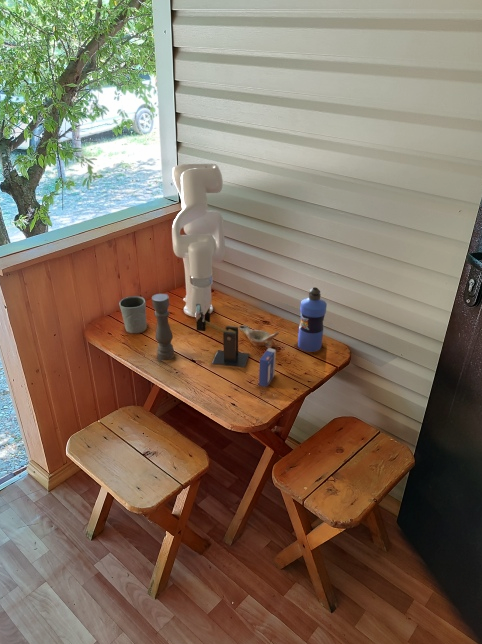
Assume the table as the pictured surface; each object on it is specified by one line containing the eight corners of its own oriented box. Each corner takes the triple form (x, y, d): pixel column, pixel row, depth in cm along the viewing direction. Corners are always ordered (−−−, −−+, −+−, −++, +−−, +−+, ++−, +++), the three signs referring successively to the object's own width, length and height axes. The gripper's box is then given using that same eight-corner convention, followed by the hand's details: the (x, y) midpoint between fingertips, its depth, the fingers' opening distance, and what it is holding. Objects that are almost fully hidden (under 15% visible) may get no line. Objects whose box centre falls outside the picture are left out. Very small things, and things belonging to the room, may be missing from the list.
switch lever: (197, 326, 166) (199, 321, 165) (201, 319, 171) (203, 314, 169) (231, 342, 167) (234, 337, 166) (234, 334, 171) (237, 329, 170)
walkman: (266, 389, 161) (267, 360, 154) (258, 387, 162) (259, 358, 155) (274, 377, 167) (276, 348, 160) (267, 375, 168) (268, 346, 161)
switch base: (212, 366, 172) (211, 334, 165) (218, 352, 180) (217, 321, 172) (244, 369, 170) (245, 338, 163) (249, 356, 178) (249, 325, 170)
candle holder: (155, 355, 177) (149, 295, 164) (172, 351, 180) (166, 292, 166) (160, 364, 173) (153, 302, 159) (176, 360, 175) (171, 299, 161)
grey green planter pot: (140, 336, 189) (137, 309, 182) (118, 331, 191) (114, 305, 185) (152, 324, 197) (149, 298, 190) (131, 320, 199) (127, 294, 193)
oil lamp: (268, 358, 176) (269, 335, 171) (231, 335, 190) (231, 313, 184) (284, 350, 181) (286, 327, 176) (248, 328, 195) (248, 306, 189)
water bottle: (304, 356, 178) (310, 296, 164) (292, 343, 185) (297, 285, 171) (326, 351, 181) (333, 291, 167) (313, 339, 188) (319, 281, 174)
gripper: (197, 268, 167) (199, 313, 176) (183, 289, 152) (186, 337, 162) (218, 270, 165) (219, 315, 175) (205, 291, 151) (207, 340, 161)
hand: (203, 325), depth 169 cm, fingers closed on switch lever, 5 cm apart
